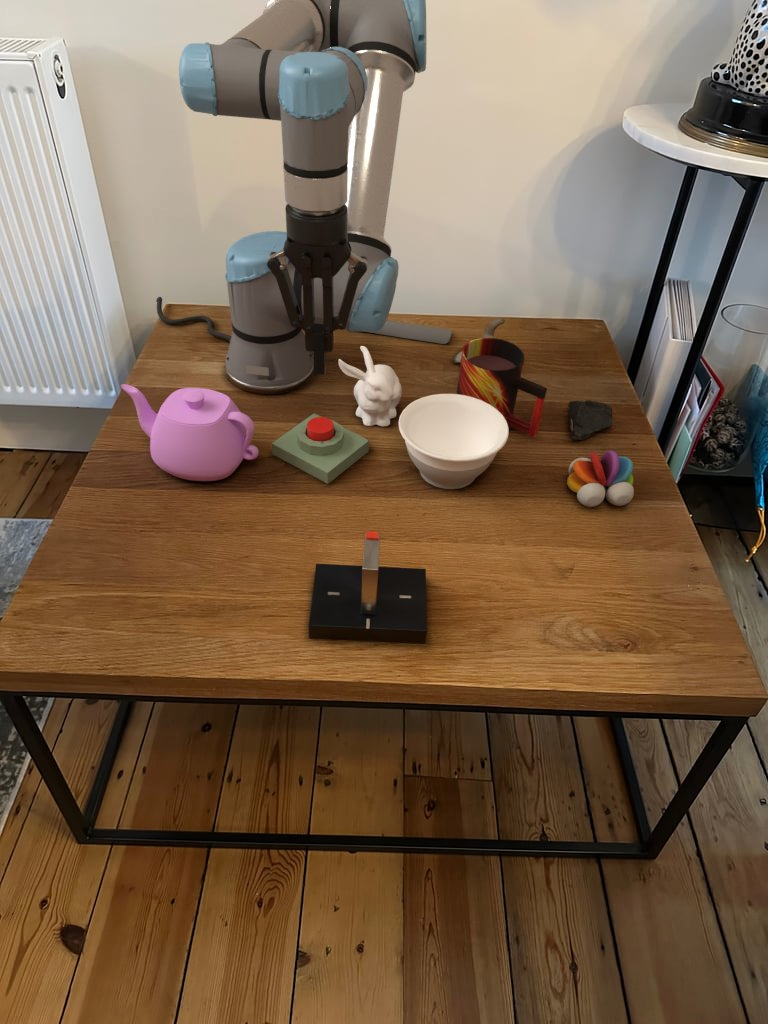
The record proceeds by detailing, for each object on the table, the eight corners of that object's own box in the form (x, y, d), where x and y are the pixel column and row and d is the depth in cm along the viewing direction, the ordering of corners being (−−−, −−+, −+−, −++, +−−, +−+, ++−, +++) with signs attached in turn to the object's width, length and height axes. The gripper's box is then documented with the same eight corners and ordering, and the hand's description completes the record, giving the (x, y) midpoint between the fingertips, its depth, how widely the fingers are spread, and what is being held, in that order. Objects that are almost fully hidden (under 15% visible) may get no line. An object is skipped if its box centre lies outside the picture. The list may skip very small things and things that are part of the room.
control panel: (308, 639, 91) (308, 625, 90) (316, 575, 99) (316, 561, 97) (425, 644, 92) (427, 630, 90) (424, 580, 99) (425, 567, 97)
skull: (448, 369, 138) (450, 343, 133) (476, 334, 144) (480, 308, 139) (498, 388, 134) (503, 362, 130) (525, 352, 141) (530, 326, 136)
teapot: (274, 443, 118) (269, 379, 110) (244, 499, 109) (237, 433, 101) (153, 422, 121) (140, 358, 113) (114, 475, 111) (96, 408, 103)
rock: (615, 445, 122) (623, 420, 118) (571, 443, 122) (578, 417, 118) (604, 411, 129) (611, 386, 125) (563, 409, 128) (569, 384, 125)
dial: (375, 615, 91) (378, 568, 86) (360, 614, 91) (362, 567, 86) (377, 577, 96) (380, 530, 90) (363, 576, 96) (365, 530, 90)
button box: (272, 454, 117) (270, 433, 114) (314, 424, 123) (314, 403, 120) (327, 484, 112) (327, 463, 109) (368, 451, 118) (369, 430, 115)
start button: (301, 435, 114) (301, 425, 113) (318, 422, 117) (318, 413, 116) (322, 445, 113) (322, 436, 112) (339, 433, 115) (339, 423, 114)
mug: (535, 443, 121) (549, 379, 113) (449, 429, 123) (457, 365, 115) (539, 409, 128) (553, 346, 120) (458, 396, 130) (466, 334, 122)
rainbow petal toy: (558, 473, 116) (568, 435, 111) (619, 472, 117) (632, 434, 112) (572, 512, 110) (584, 473, 105) (637, 510, 111) (651, 472, 106)
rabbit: (392, 437, 121) (395, 372, 113) (334, 428, 122) (334, 363, 114) (405, 394, 130) (410, 332, 121) (351, 386, 131) (352, 324, 123)
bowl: (396, 435, 121) (399, 390, 116) (496, 440, 121) (504, 395, 116) (394, 502, 110) (397, 456, 104) (504, 508, 110) (514, 462, 104)
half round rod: (449, 345, 142) (450, 337, 141) (347, 329, 145) (347, 321, 143) (452, 334, 145) (453, 326, 144) (353, 319, 148) (353, 310, 146)
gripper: (371, 193, 95) (366, 357, 111) (266, 188, 94) (277, 353, 111) (369, 219, 89) (364, 387, 106) (257, 213, 89) (270, 382, 105)
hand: (320, 369), depth 108 cm, fingers closed
